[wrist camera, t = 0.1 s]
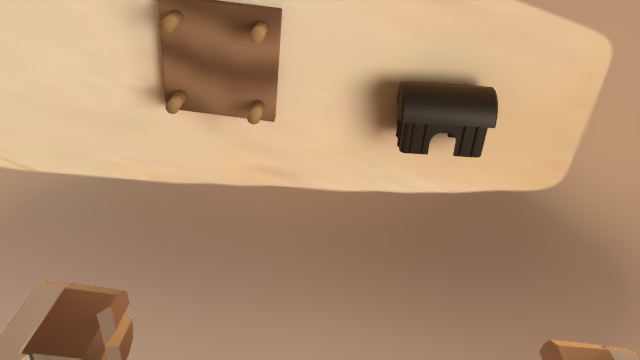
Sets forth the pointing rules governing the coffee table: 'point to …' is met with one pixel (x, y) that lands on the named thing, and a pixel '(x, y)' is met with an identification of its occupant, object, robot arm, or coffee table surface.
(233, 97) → the stand
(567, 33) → the coffee table surface
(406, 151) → the end cap
